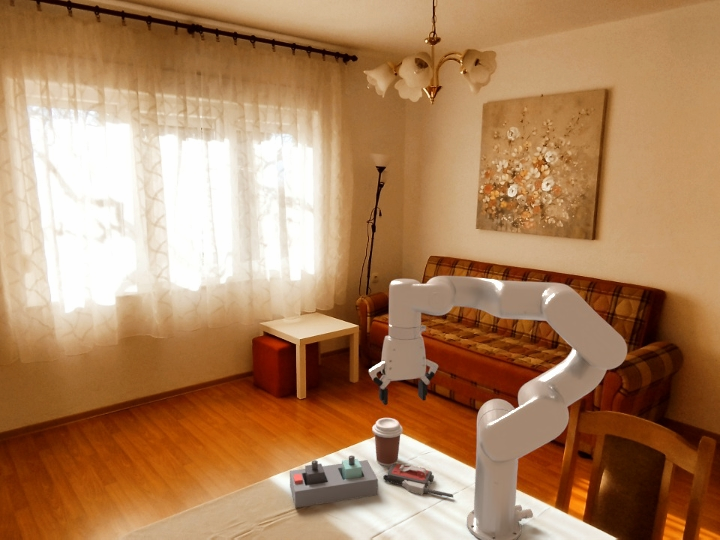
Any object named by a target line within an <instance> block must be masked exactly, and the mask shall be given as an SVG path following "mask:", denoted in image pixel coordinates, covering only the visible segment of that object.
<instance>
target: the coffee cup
mask: <svg viewBox="0 0 720 540" xmlns="http://www.w3.org/2000/svg"><path fill="white" fill-rule="evenodd" d="M371 431H372V433H373V434H374V440H375V441H374V443H375V457H376V463H377V464H379V465H380V464H381V466H383V465H384V466H383V467H391V466H392V464H398V460H399V450H400V442H401V441H400V440H401V435H402V434H403V432H404V430H403V426H402V425H401V424H400V422H399V420H397V419H395V418H391V417H383V418H379V419H377V421H375V424H373V426H372V430H371Z"/></svg>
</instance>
